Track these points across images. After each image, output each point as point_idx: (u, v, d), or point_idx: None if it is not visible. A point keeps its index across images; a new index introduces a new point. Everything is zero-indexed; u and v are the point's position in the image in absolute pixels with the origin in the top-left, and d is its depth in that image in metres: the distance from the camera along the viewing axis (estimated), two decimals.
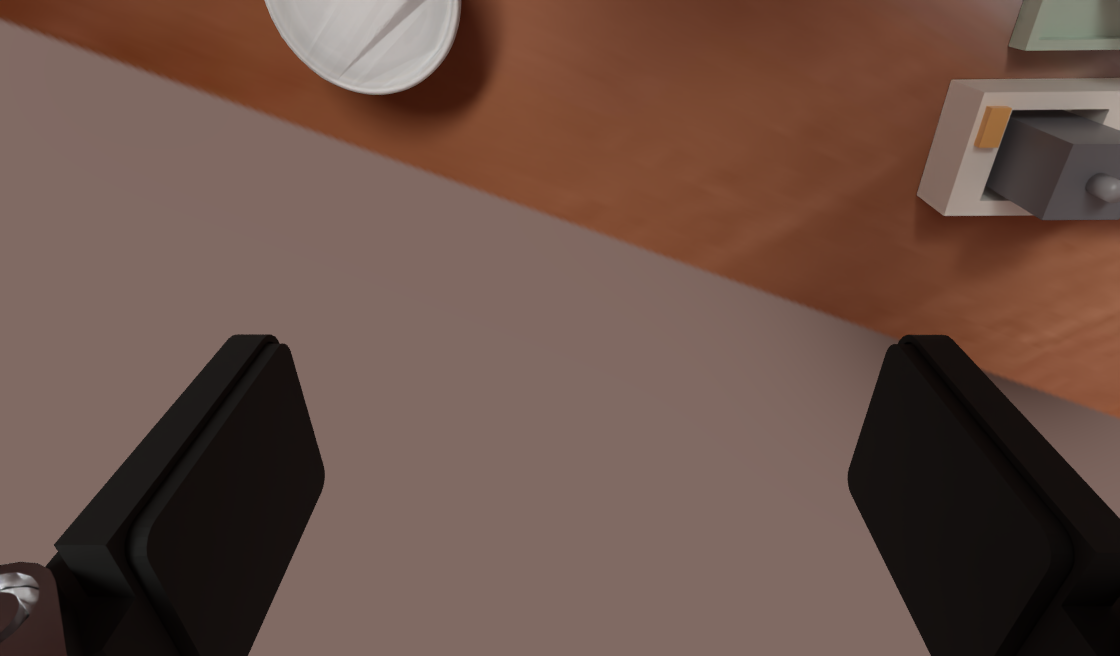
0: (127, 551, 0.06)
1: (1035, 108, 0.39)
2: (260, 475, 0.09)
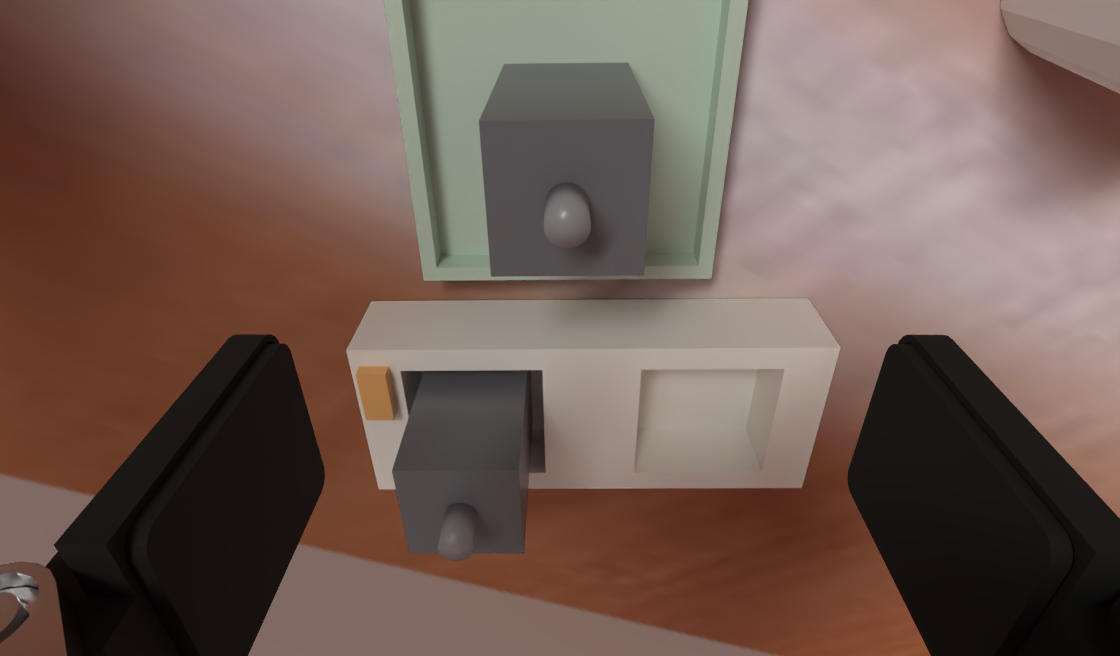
0: (127, 551, 0.06)
1: (432, 369, 0.26)
2: (260, 475, 0.09)
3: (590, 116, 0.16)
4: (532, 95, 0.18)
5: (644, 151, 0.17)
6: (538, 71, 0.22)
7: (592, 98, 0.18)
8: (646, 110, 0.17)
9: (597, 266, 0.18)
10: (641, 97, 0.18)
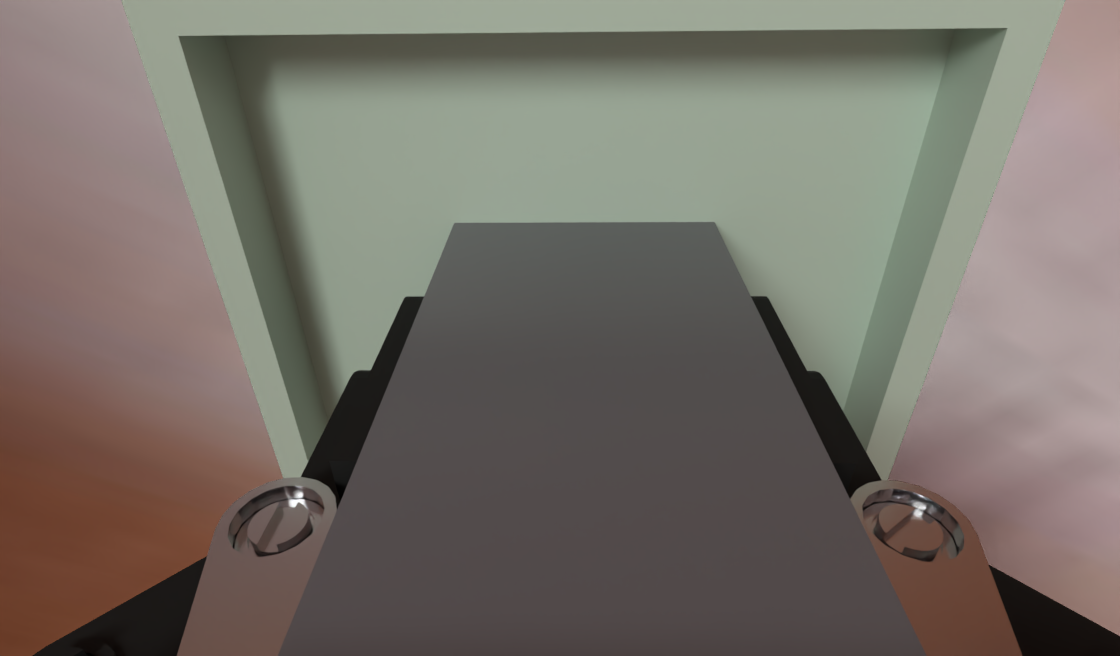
0: None
1: None
2: None
3: (687, 641, 0.04)
4: (495, 417, 0.07)
5: None
6: (523, 261, 0.10)
7: (669, 448, 0.06)
8: (876, 582, 0.05)
9: None
10: (815, 446, 0.06)
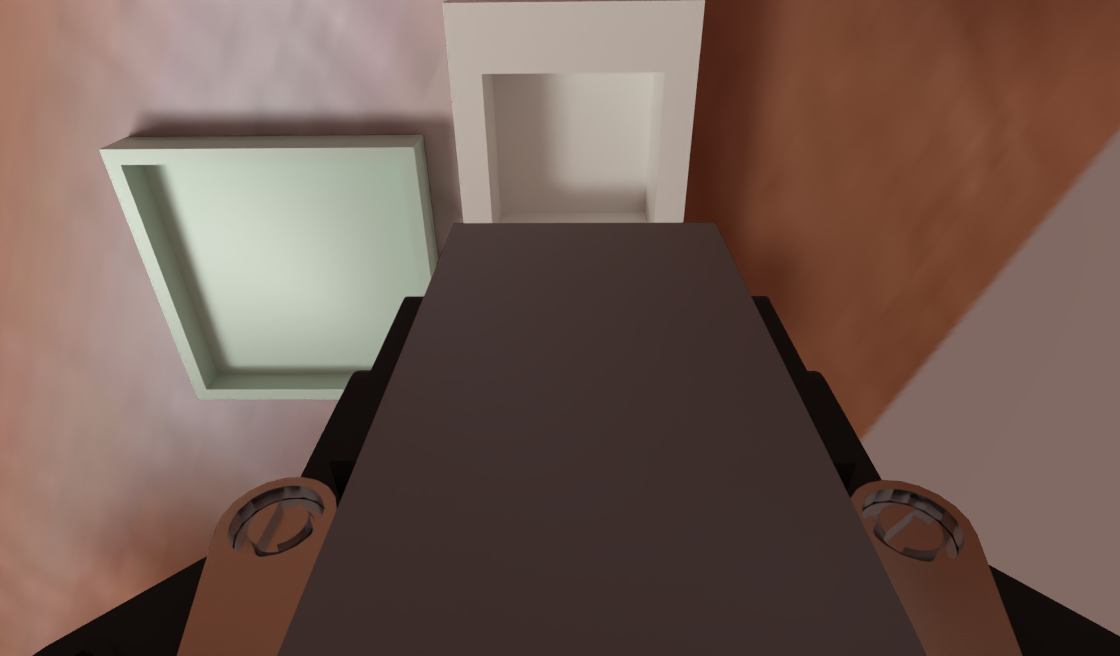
0: None
1: None
2: None
3: (688, 645, 0.04)
4: (494, 418, 0.07)
5: None
6: (523, 261, 0.10)
7: (670, 450, 0.06)
8: (878, 585, 0.05)
9: None
10: (816, 448, 0.06)
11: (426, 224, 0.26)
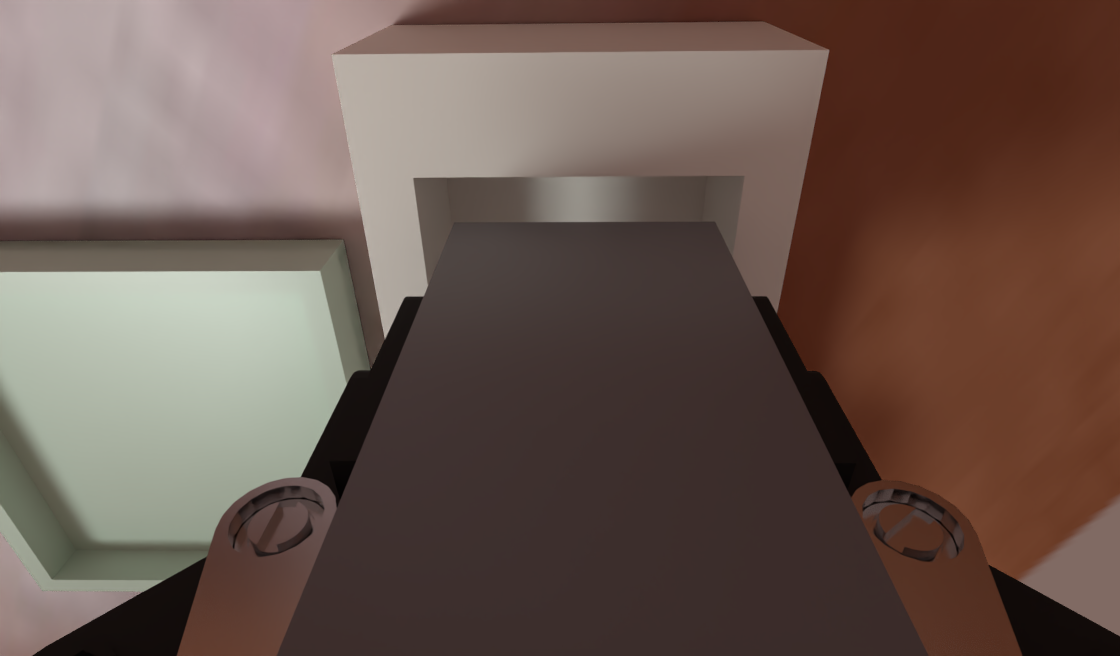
0: None
1: None
2: None
3: (688, 643, 0.04)
4: (495, 417, 0.07)
5: None
6: (523, 260, 0.10)
7: (670, 448, 0.06)
8: (878, 583, 0.05)
9: None
10: (816, 446, 0.06)
11: (351, 373, 0.17)
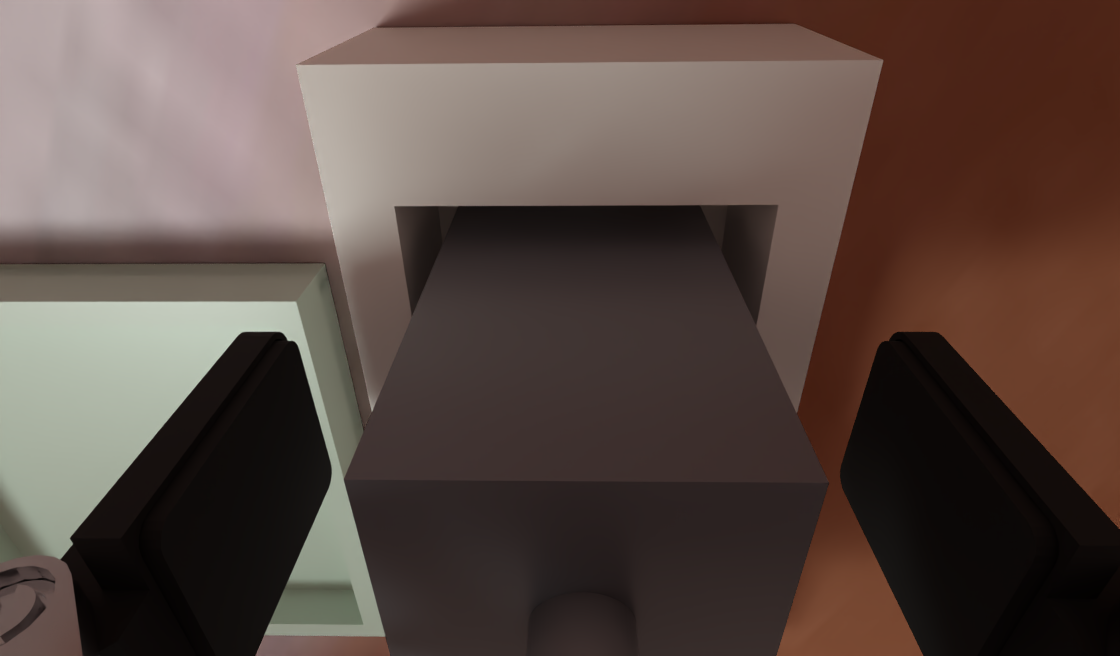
0: (141, 545, 0.06)
1: None
2: (269, 471, 0.09)
3: (647, 452, 0.06)
4: (505, 321, 0.08)
5: (790, 544, 0.06)
6: (526, 215, 0.11)
7: (641, 341, 0.08)
8: (788, 419, 0.07)
9: None
10: (755, 339, 0.08)
11: (334, 410, 0.15)
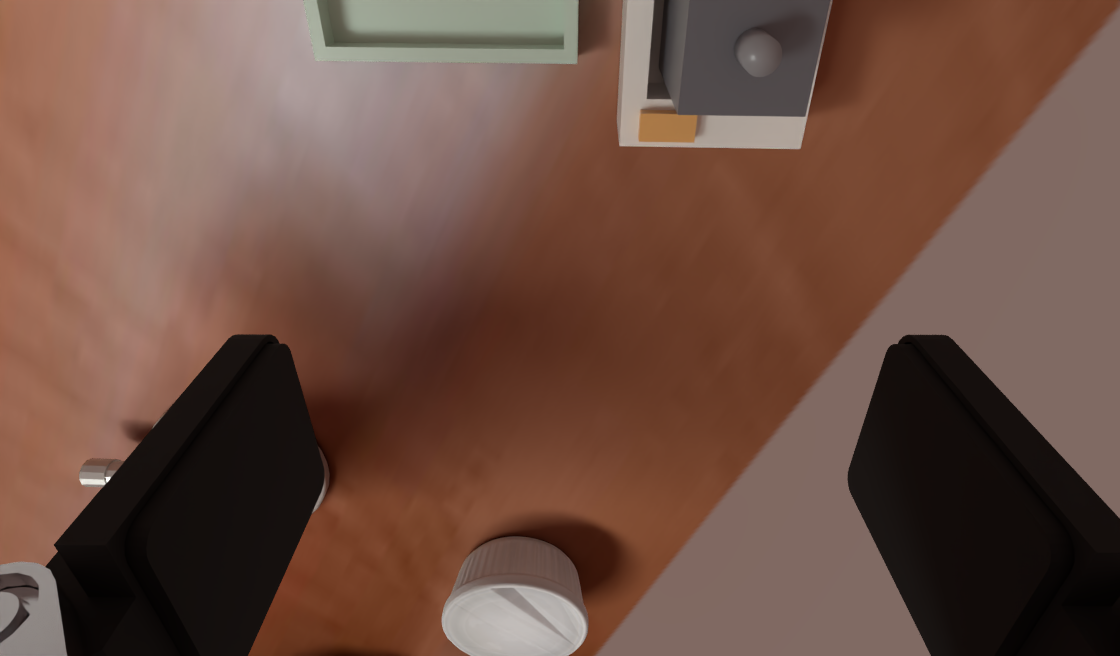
0: (127, 552, 0.06)
1: (647, 65, 0.26)
2: (260, 475, 0.09)
3: None
4: None
5: None
6: None
7: None
8: None
9: None
10: None
11: None
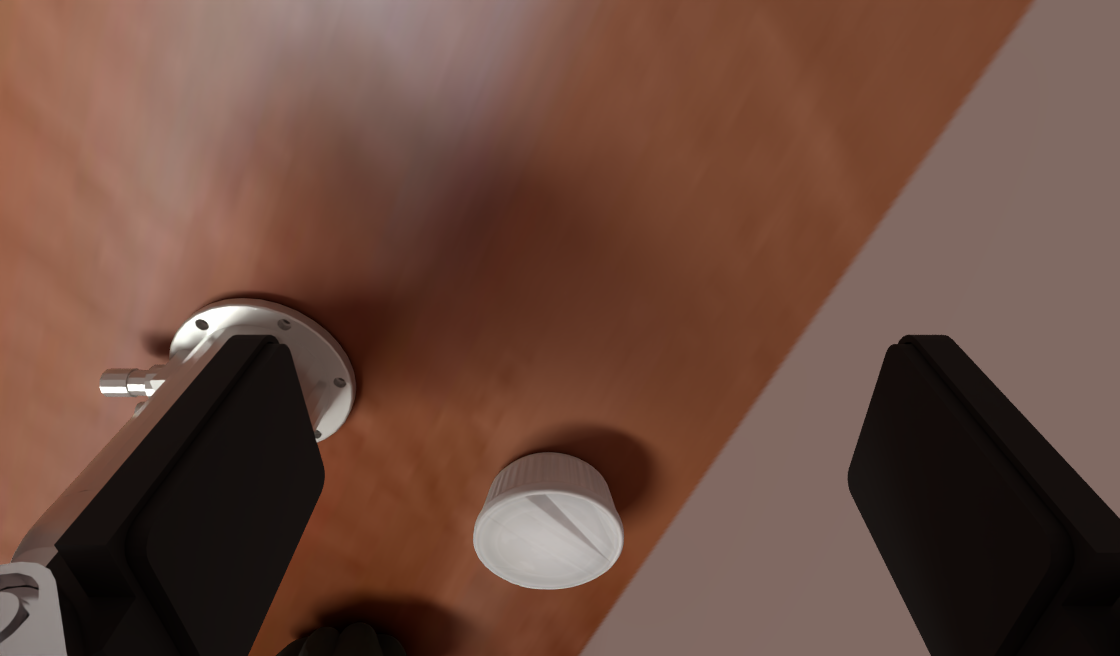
0: (126, 551, 0.06)
1: None
2: (260, 475, 0.09)
3: None
4: None
5: None
6: None
7: None
8: None
9: None
10: None
11: None
